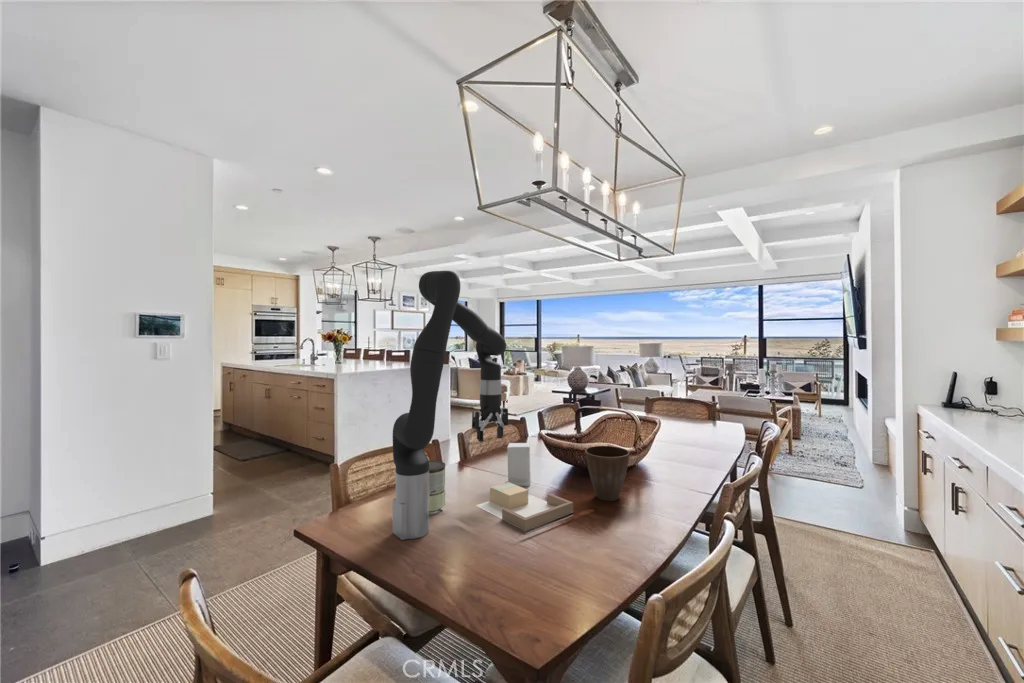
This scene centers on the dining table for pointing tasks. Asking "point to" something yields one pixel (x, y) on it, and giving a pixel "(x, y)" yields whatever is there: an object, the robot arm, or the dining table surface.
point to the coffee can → (436, 486)
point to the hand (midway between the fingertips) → (490, 439)
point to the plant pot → (607, 470)
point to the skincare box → (519, 464)
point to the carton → (509, 495)
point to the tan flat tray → (532, 512)
